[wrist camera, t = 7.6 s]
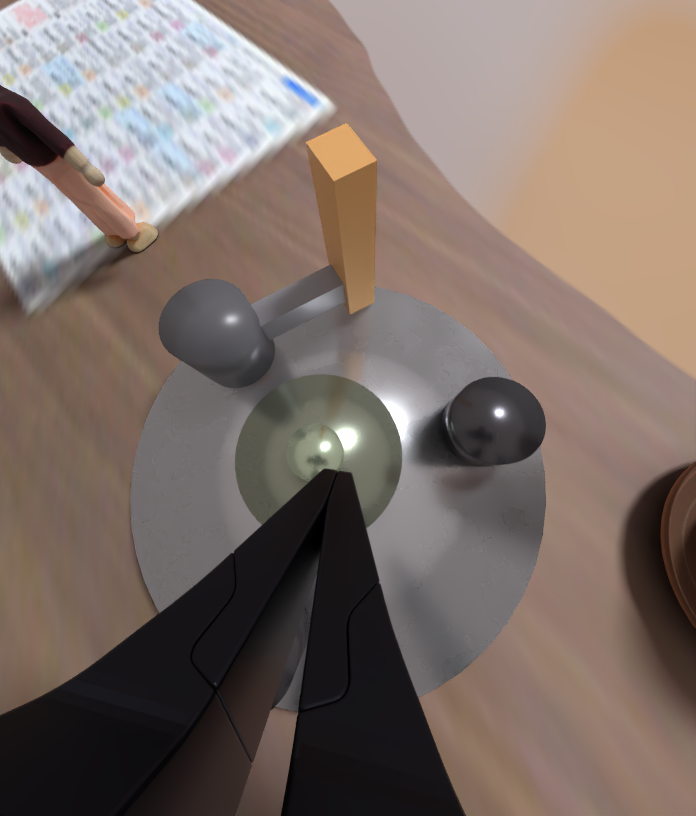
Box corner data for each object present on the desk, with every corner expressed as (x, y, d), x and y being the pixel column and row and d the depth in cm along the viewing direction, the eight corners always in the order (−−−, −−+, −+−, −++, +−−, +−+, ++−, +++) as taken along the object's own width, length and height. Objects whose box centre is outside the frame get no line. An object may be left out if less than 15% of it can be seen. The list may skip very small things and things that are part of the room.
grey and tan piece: (218, 401, 17) (85, 330, 9) (193, 341, 19) (58, 233, 11) (383, 316, 18) (393, 181, 10) (348, 263, 19) (333, 105, 11)
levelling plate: (298, 823, 13) (256, 1021, 8) (84, 443, 19) (-13, 430, 14) (624, 480, 16) (736, 479, 11) (349, 239, 22) (343, 170, 17)
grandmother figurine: (175, 220, 24) (-34, -60, 11) (161, 257, 23) (-84, -5, 10) (96, 215, 25) (-177, -50, 12) (78, 250, 24) (-235, 3, 11)
